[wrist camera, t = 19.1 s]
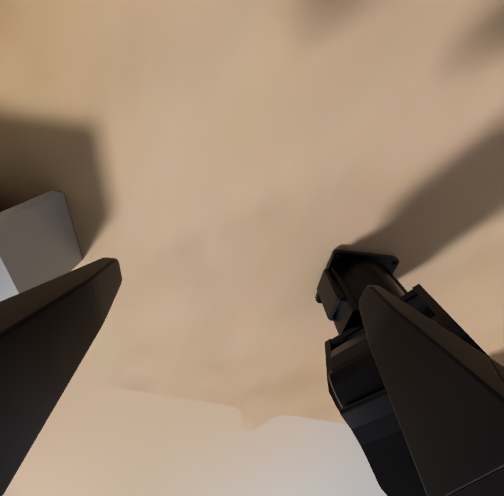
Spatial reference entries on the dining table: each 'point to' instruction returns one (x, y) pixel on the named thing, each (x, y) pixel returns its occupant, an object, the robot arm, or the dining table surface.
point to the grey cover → (36, 243)
